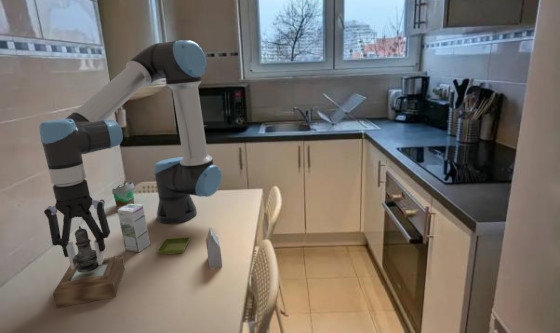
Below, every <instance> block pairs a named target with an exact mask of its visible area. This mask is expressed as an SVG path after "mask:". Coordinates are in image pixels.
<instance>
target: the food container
mask: <svg viewBox="0 0 560 333" xmlns="http://www.w3.org/2000/svg"><path fill="white" fill-rule="evenodd" d="M134 188H135V185H134V183H133V182H132V181H131V180H124V181H123V183H122V184H120V185H118V186H117V187H116V188H112V189H111V192H112V195H113V198H114V202H115V206H116V210H117V211H118V209H120V208H121V207H123V206H125V205H127V204H135V198H134V197H135V196H134Z"/></svg>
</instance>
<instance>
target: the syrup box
mask: <svg viewBox="0 0 560 333" xmlns="http://www.w3.org/2000/svg"><path fill="white" fill-rule="evenodd" d="M117 214H118V219H119V224H120V229H121V230H120V231H121V235H122V240H123V243H124V249H125V251H127V252H128V251H130V252H136V253H140V252H142V251H143V250H145V249H146V248H147V247H148V246H150V245H151V242H150V241H151V240H150V236H149V231H148V227H147V226H148V225H147V220H146V215H145V209H144V205H143V204H136V203H134V204H127V205H125V206H123V207H121V208H120V209H118V210H117Z"/></svg>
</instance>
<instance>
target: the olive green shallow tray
mask: <svg viewBox="0 0 560 333" xmlns="http://www.w3.org/2000/svg"><path fill="white" fill-rule="evenodd" d="M190 240H191V237H190V236H187V237H186V236H184V237H169V238H167V237H166V238H165V239H163V241H162V243H161V244H160V246H159V247H158V248H157V250H156V252H157V253H159V254H161V255H167V254H168V255H169V254H183V253H184V251H185V250H186V248H187V246H188V244H189V242H190Z"/></svg>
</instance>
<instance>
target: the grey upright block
mask: <svg viewBox="0 0 560 333" xmlns="http://www.w3.org/2000/svg"><path fill="white" fill-rule="evenodd" d="M219 239H220V238H219V237H218V235H217V234H216V232H215V231H214V230H213V228H212V227H209V229H208V233H207V237H206V239H205V244H206V251H207V259H208V261H207V262H208V266H209V269H216V268H222V267H223V260H222V252H221V250H222V249H221V246H220V241H219Z"/></svg>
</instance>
